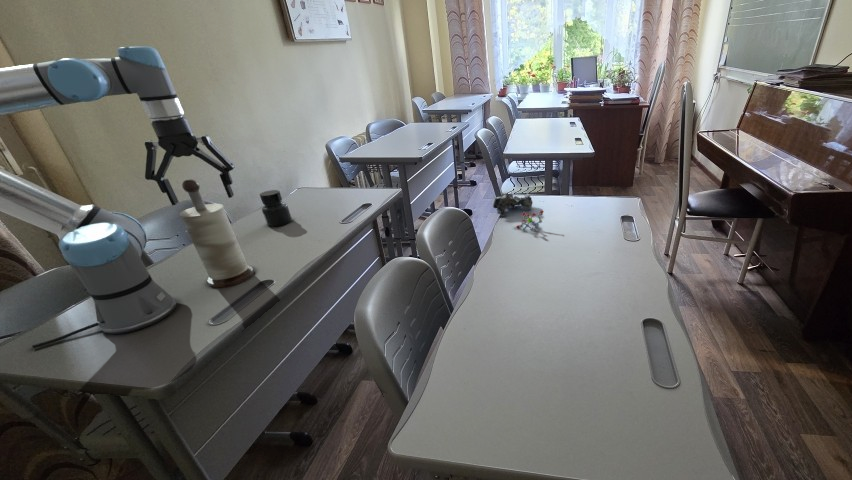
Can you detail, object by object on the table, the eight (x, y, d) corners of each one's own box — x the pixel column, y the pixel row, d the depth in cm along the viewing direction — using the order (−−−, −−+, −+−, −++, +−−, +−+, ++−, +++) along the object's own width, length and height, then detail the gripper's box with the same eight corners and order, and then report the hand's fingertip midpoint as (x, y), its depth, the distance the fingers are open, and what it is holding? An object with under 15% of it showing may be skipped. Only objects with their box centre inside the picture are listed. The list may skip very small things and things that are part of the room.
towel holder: (214, 272, 121) (203, 290, 112) (169, 176, 107) (152, 188, 97) (257, 264, 125) (249, 282, 115) (219, 171, 110) (207, 182, 100)
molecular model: (545, 230, 137) (545, 209, 134) (525, 235, 134) (525, 214, 131) (534, 223, 143) (534, 203, 139) (515, 228, 140) (514, 208, 136)
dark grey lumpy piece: (538, 206, 148) (503, 187, 143) (523, 229, 153) (489, 212, 148) (534, 195, 158) (501, 177, 153) (519, 217, 163) (487, 200, 158)
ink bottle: (278, 217, 161) (268, 188, 154) (297, 218, 159) (288, 189, 153) (261, 227, 152) (250, 196, 146) (281, 227, 151) (270, 197, 145)
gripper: (227, 111, 106) (255, 189, 117) (115, 121, 99) (156, 202, 110) (220, 115, 100) (251, 197, 110) (100, 125, 93) (145, 211, 104)
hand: (203, 200), depth 110 cm, fingers open, 13 cm apart
